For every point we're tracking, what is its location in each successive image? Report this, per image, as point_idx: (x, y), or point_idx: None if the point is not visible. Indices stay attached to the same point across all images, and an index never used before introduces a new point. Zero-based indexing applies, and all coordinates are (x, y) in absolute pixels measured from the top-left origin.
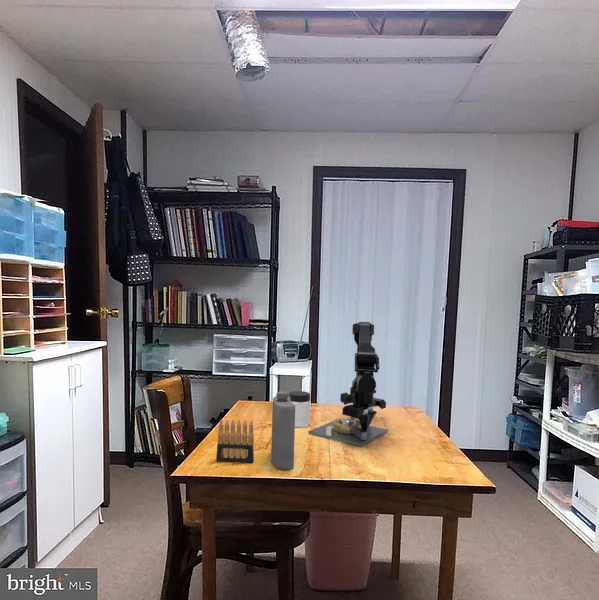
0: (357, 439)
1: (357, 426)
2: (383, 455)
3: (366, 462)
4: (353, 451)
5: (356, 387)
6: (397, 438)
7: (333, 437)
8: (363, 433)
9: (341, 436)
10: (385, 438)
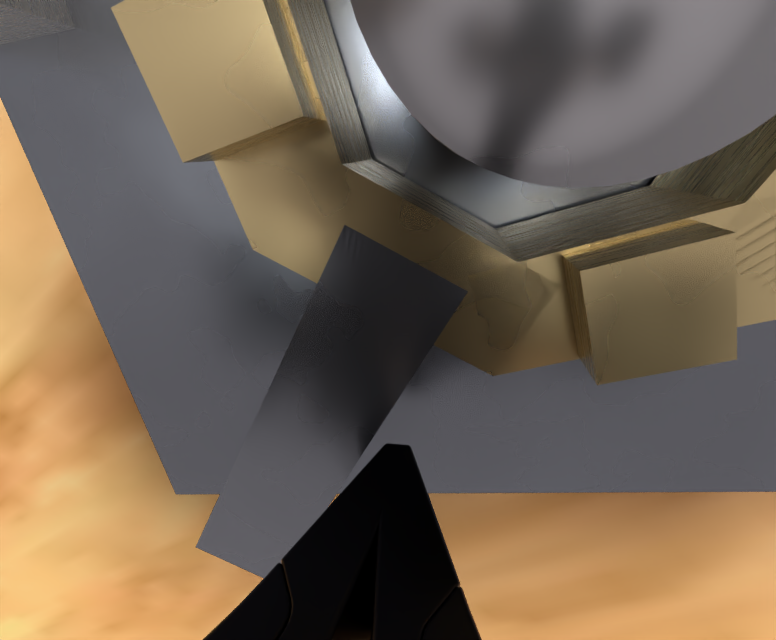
0: (244, 407)
1: (426, 345)
2: (204, 636)
3: (16, 606)
4: (54, 475)
5: None
6: (724, 603)
7: (11, 110)
8: (226, 545)
9: (140, 181)
10: (637, 527)
